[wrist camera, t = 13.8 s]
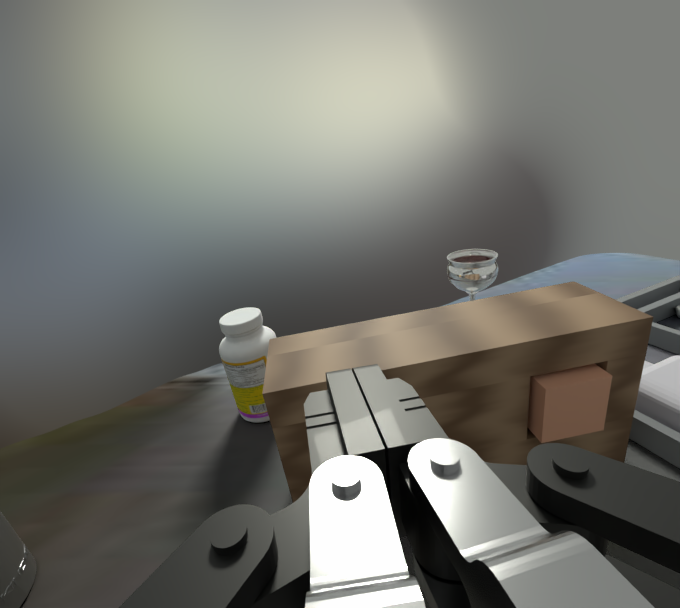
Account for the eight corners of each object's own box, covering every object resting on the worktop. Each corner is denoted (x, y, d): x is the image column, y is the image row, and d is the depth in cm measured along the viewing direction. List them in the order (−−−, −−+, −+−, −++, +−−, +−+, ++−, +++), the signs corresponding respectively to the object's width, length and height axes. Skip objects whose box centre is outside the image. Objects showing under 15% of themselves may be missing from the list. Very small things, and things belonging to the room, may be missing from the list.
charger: (623, 362, 44) (809, 444, 31) (565, 388, 41) (739, 489, 28) (629, 327, 42) (829, 398, 29) (569, 352, 40) (758, 442, 26)
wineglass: (453, 345, 53) (451, 266, 48) (445, 324, 59) (442, 252, 54) (503, 341, 52) (505, 260, 47) (489, 320, 58) (490, 246, 53)
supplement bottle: (266, 386, 50) (242, 300, 45) (302, 397, 47) (281, 306, 42) (228, 416, 46) (197, 324, 41) (266, 432, 42) (237, 333, 37)
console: (301, 533, 30) (262, 393, 25) (300, 458, 37) (269, 339, 32) (623, 463, 31) (653, 316, 26) (561, 404, 39) (573, 281, 33)
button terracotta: (541, 443, 28) (545, 389, 26) (506, 402, 32) (507, 354, 31) (603, 430, 28) (612, 375, 26) (559, 391, 33) (564, 342, 31)
